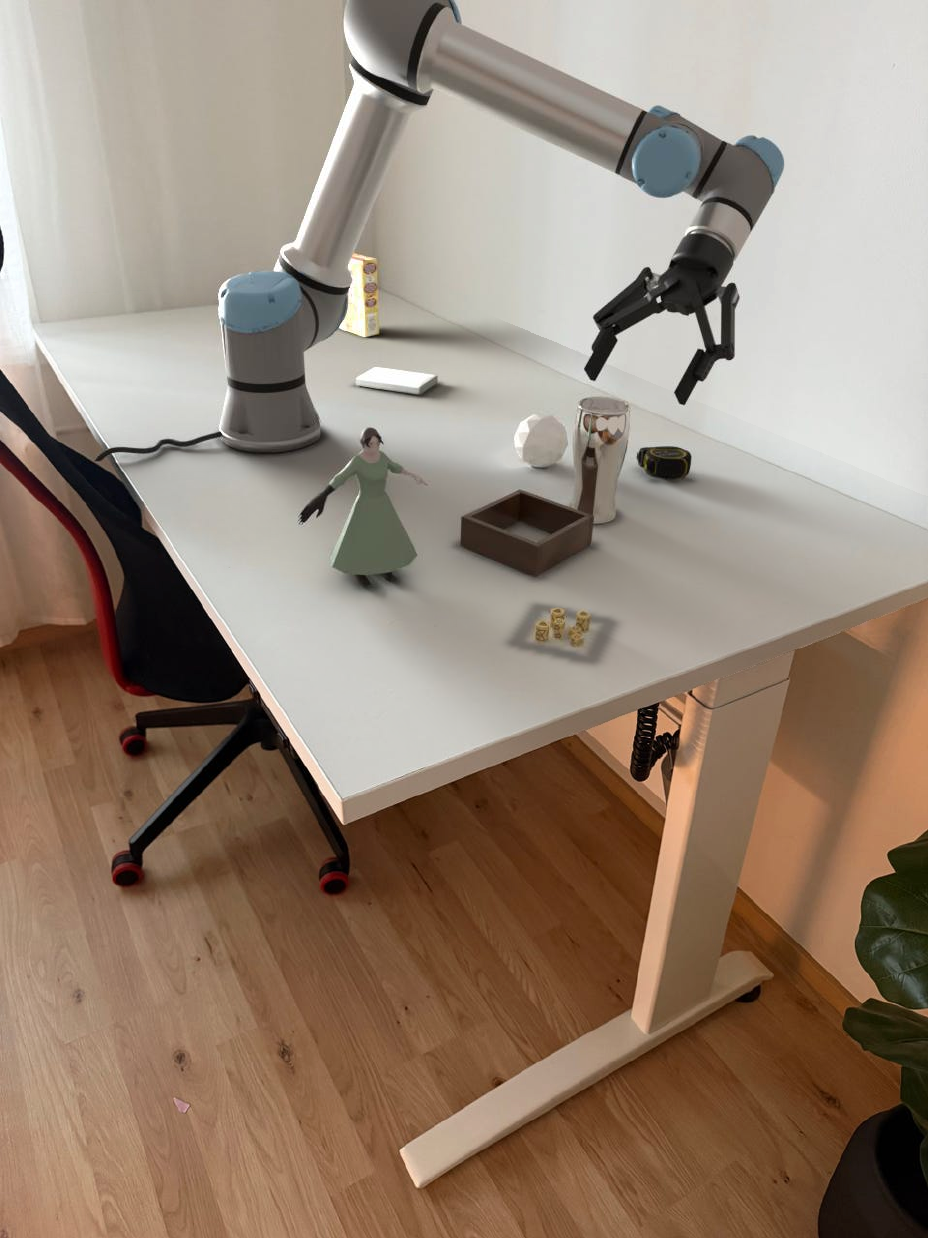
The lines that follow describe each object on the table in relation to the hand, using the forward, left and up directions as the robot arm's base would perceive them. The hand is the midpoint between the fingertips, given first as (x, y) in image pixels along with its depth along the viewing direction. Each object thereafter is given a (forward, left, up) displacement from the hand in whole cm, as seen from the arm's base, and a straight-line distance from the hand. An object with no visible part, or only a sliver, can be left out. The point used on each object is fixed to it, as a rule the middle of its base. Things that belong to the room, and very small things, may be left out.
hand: (632, 386), depth 122 cm
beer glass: (-6, -3, -16) cm, 17 cm away
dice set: (-22, -29, -16) cm, 40 cm away
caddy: (-18, -9, -16) cm, 25 cm away
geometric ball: (-6, +15, -16) cm, 22 cm away
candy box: (-14, +94, -16) cm, 96 cm away
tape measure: (+10, +7, -16) cm, 20 cm away
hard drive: (-16, +57, -16) cm, 61 cm away
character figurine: (-39, -12, -16) cm, 44 cm away
